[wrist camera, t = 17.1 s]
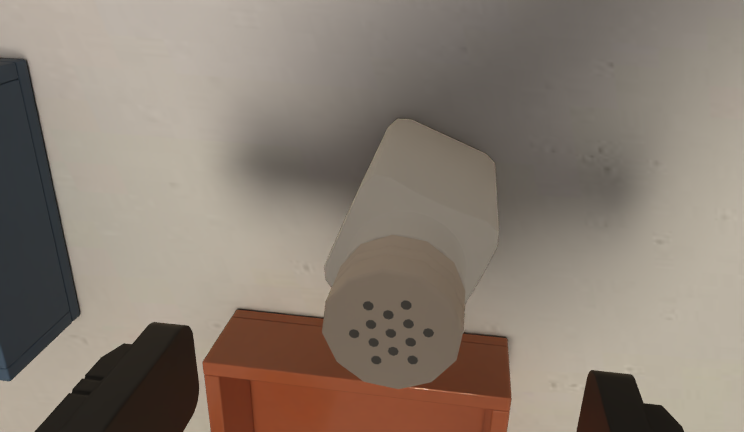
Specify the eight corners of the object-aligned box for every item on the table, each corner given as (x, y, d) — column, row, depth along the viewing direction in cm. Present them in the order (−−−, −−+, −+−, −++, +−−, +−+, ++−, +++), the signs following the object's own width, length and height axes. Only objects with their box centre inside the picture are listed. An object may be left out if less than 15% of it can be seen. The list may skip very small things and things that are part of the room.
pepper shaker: (451, 246, 23) (433, 428, 15) (354, 202, 23) (280, 360, 15) (501, 155, 22) (515, 302, 13) (396, 107, 21) (341, 223, 13)
